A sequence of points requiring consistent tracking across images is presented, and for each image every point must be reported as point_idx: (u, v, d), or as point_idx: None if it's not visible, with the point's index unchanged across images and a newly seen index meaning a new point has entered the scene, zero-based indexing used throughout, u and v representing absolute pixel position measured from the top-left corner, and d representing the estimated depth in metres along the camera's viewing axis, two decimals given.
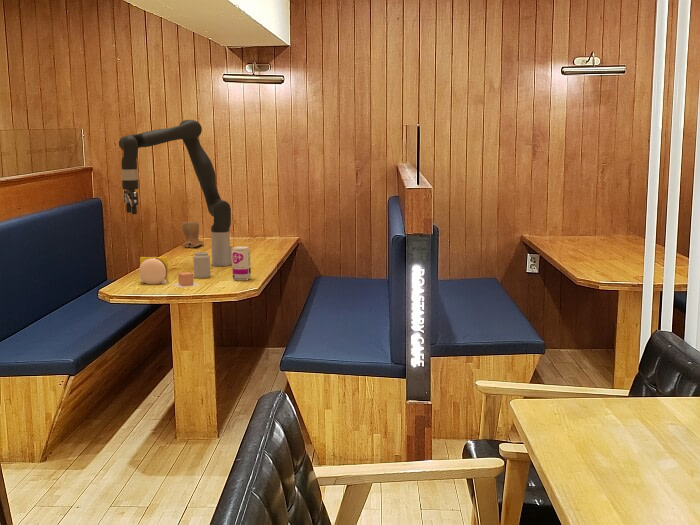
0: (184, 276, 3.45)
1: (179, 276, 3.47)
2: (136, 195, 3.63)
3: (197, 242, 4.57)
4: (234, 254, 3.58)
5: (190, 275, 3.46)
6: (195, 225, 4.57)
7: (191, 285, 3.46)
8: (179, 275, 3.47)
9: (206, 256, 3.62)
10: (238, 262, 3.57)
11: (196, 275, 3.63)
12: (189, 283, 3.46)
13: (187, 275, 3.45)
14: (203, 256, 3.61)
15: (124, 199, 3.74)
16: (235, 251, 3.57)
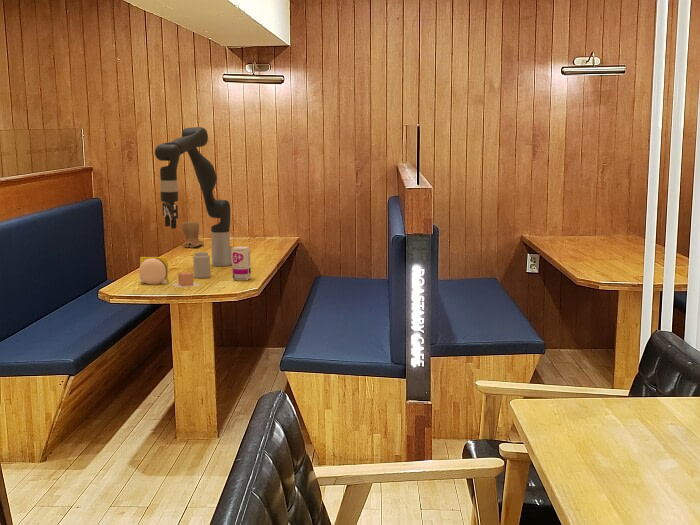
0: (184, 276, 3.45)
1: (179, 276, 3.47)
2: (176, 208, 3.38)
3: (197, 242, 4.57)
4: (234, 254, 3.58)
5: (190, 275, 3.46)
6: (195, 225, 4.57)
7: (191, 285, 3.46)
8: (179, 275, 3.47)
9: (206, 256, 3.62)
10: (238, 262, 3.57)
11: (196, 275, 3.63)
12: (189, 283, 3.46)
13: (187, 275, 3.45)
14: (203, 256, 3.61)
15: (162, 212, 3.49)
16: (235, 251, 3.57)
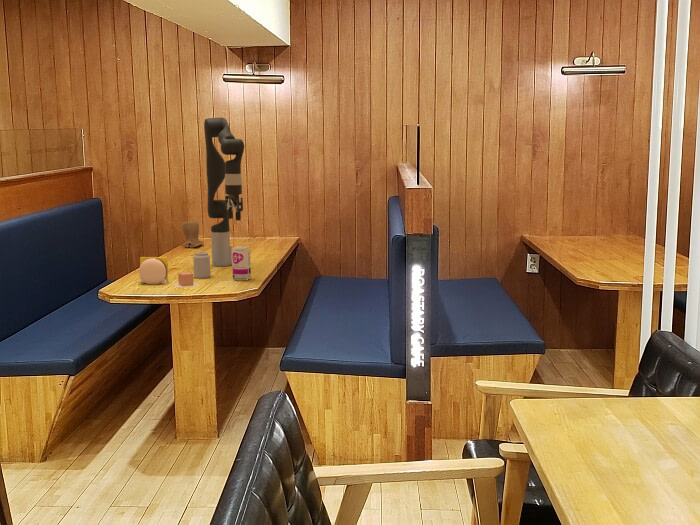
0: (184, 276, 3.45)
1: (179, 276, 3.47)
2: (241, 200, 3.49)
3: (197, 242, 4.57)
4: (234, 254, 3.58)
5: (190, 275, 3.46)
6: (195, 225, 4.57)
7: (191, 285, 3.46)
8: (179, 275, 3.47)
9: (206, 256, 3.62)
10: (238, 262, 3.57)
11: (196, 275, 3.63)
12: (189, 283, 3.46)
13: (187, 275, 3.45)
14: (203, 256, 3.61)
15: (225, 204, 3.60)
16: (235, 251, 3.57)
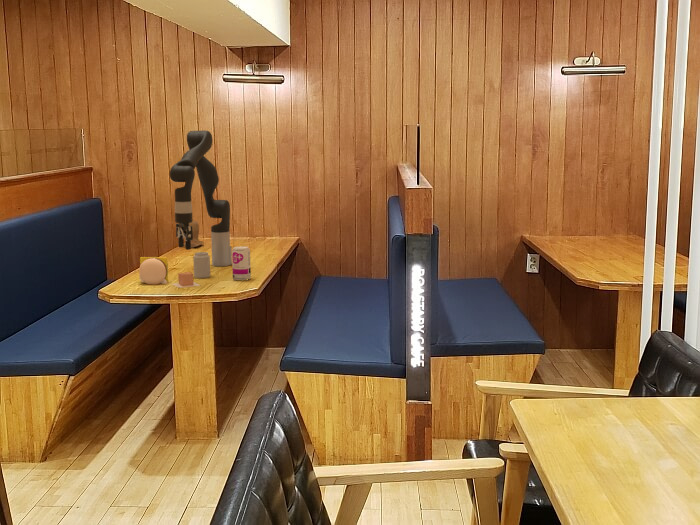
0: (184, 276, 3.45)
1: (179, 276, 3.47)
2: (191, 229, 3.39)
3: (197, 242, 4.57)
4: (234, 254, 3.58)
5: (190, 275, 3.46)
6: (195, 225, 4.57)
7: (191, 285, 3.46)
8: (179, 275, 3.47)
9: (206, 256, 3.62)
10: (238, 262, 3.57)
11: (196, 275, 3.63)
12: (189, 283, 3.46)
13: (187, 275, 3.45)
14: (203, 256, 3.61)
15: (176, 233, 3.49)
16: (235, 251, 3.57)
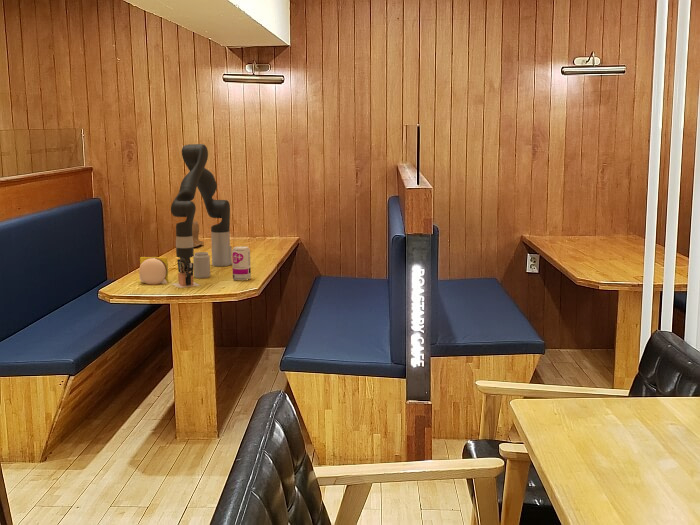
0: (184, 276, 3.45)
1: (179, 276, 3.47)
2: (192, 266, 3.42)
3: (197, 242, 4.57)
4: (234, 254, 3.58)
5: None
6: (195, 225, 4.57)
7: (191, 285, 3.46)
8: (179, 275, 3.47)
9: (206, 256, 3.62)
10: (238, 262, 3.57)
11: (196, 275, 3.63)
12: None
13: None
14: (203, 256, 3.61)
15: (178, 268, 3.51)
16: (235, 251, 3.57)
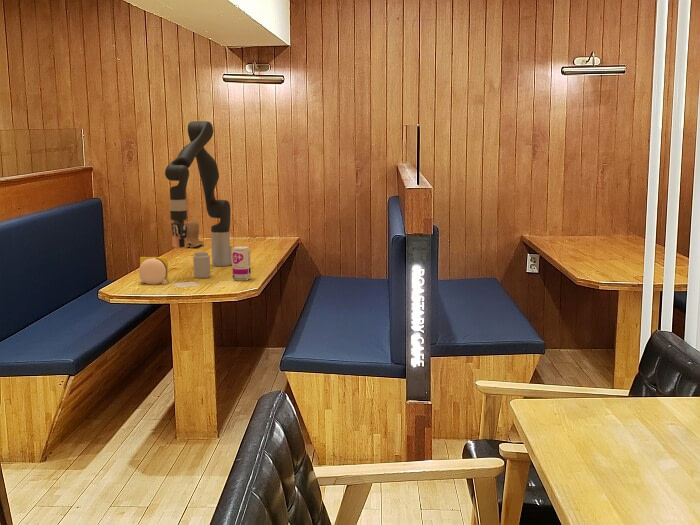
0: (178, 238, 3.54)
1: (173, 239, 3.57)
2: (185, 229, 3.51)
3: (197, 242, 4.57)
4: (234, 254, 3.58)
5: None
6: (195, 225, 4.57)
7: (191, 285, 3.46)
8: (173, 238, 3.57)
9: (206, 256, 3.62)
10: (238, 262, 3.57)
11: (196, 275, 3.63)
12: None
13: None
14: (203, 256, 3.61)
15: (172, 232, 3.61)
16: (235, 251, 3.57)
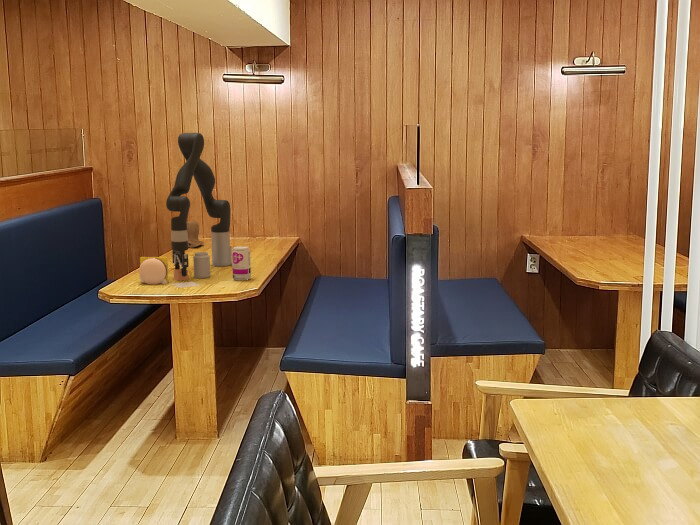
0: (179, 272, 3.57)
1: (174, 272, 3.59)
2: (186, 257, 3.53)
3: (197, 242, 4.57)
4: (234, 254, 3.58)
5: None
6: (195, 225, 4.57)
7: (191, 285, 3.46)
8: (174, 271, 3.59)
9: (206, 256, 3.62)
10: (238, 262, 3.57)
11: (196, 275, 3.63)
12: (184, 279, 3.59)
13: None
14: (203, 256, 3.61)
15: None
16: (235, 251, 3.57)
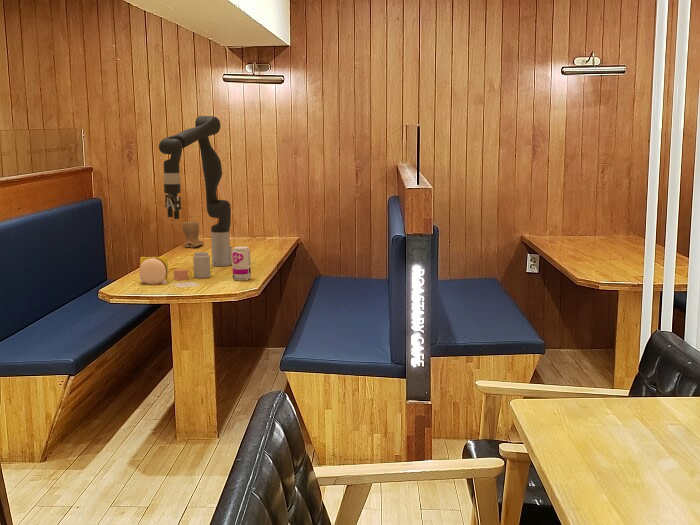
0: (179, 272, 3.57)
1: (174, 272, 3.59)
2: (179, 199, 3.55)
3: (197, 242, 4.57)
4: (234, 254, 3.58)
5: (185, 271, 3.58)
6: (195, 225, 4.57)
7: (191, 285, 3.46)
8: (174, 271, 3.59)
9: (206, 256, 3.62)
10: (238, 262, 3.57)
11: (196, 275, 3.63)
12: (184, 279, 3.59)
13: (182, 271, 3.58)
14: (203, 256, 3.61)
15: (165, 203, 3.65)
16: (235, 251, 3.57)
